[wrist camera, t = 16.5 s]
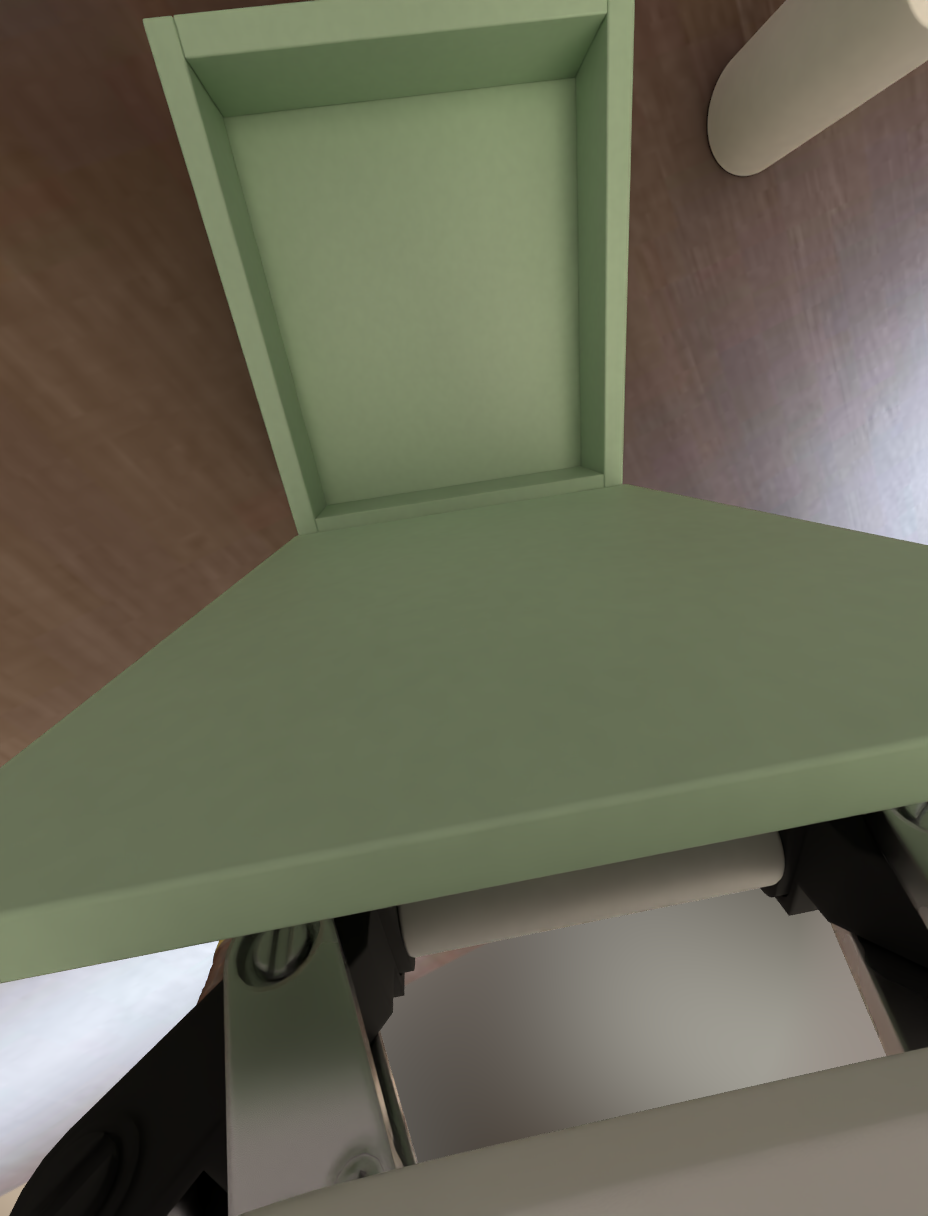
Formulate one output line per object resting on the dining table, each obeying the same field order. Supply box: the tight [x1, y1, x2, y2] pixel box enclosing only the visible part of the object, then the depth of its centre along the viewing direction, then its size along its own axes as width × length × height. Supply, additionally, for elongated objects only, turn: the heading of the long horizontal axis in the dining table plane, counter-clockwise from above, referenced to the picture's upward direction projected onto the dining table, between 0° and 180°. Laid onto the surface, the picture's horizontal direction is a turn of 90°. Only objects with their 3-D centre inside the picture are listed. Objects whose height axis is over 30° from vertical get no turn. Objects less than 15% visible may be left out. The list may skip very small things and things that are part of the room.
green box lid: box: [0, 484, 928, 983], centre depth 12 cm, size 17×15×5 cm
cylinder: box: [707, 0, 928, 176], centre depth 14 cm, size 4×4×8 cm
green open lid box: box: [143, 0, 635, 535], centre depth 18 cm, size 16×15×4 cm
